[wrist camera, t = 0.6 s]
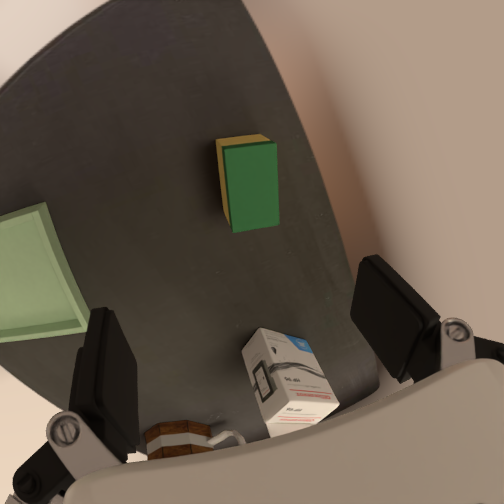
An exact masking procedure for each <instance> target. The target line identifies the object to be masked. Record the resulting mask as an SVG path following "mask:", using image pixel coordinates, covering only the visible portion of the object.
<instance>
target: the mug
mask: <svg viewBox="0 0 504 504" xmlns="http://www.w3.org/2000/svg"><path fill="white" fill-rule="evenodd" d="M144 435H145V440H146V444H147V454H148V460H154V459H163V458H171V457H178V456H185V455H191V454H197V453H203V452H209V451H214V448H213V445H215V444H217V443H219V442H221V441H223V440H224V439H226V438H227V437H228V436H235V437H236V439H237V440H238V443H239V445H244V444H246V443H245V440H244V438H243V437H242V436H241V435H240V434H239V433H238V432H237V431H236V430H224V431H222V432H221V433H219V434H218V435H216V436H214V437H212V433H211V429H210V426H208V425H204V424H200V423H196V422H192V421H188V420H184V421H175V422H166V423H158V424H156V425H155V426H154V427H152V428H151V429H149V430H148V431H146V432H145V433H144Z"/></svg>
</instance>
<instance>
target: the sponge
mask: <svg viewBox="0 0 504 504" xmlns="http://www.w3.org/2000/svg"><path fill="white" fill-rule="evenodd" d="M216 148H217V157H218V166H219V175H220V184H221V193H222V202H223V210H224V213H225V216H226V218H227V220H228V223H229V225H230V227H231V230H232V232H233V233H236V232H242V231H247V230H253V229H258V228H264V227H270V226H275V225H279V198H278V170H277V146H276V143H275V142H273V141H271V140H269V139H267V138H266V137H264V136H262V135H260V134H256V135H247V136H238V137H230V138H223V139H216Z"/></svg>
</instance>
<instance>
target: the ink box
mask: <svg viewBox="0 0 504 504" xmlns="http://www.w3.org/2000/svg"><path fill="white" fill-rule="evenodd" d="M242 355H243V358H244V362H245V365H246V368H247V371H248V374H249V377H250V381H251V383H252V387H253V390H254V393H255V396H256V399H257V402H258V405H259V408H260V411H261V414H262V417H263V420H264V423H266V425H267V428H268V432H269V434H270V437H271V438H272V437H276V436H279V435H283V434H286V433H290V432H293V431H297V430H300V429H303V428H306V427H309V426H312V425H315V424H316V423H318V422H319V421H320V420H322V419H323V418H324V417H325V416H327V415H328V414H329V413H331V412H332V411H333V410H334V409H335V408H337V407H338V406H339V402H338V401H337V399H336V397H335V395H334V393H333V391H332V389H331V387H330V385H329V383H328V382H327V380H326V378H325V376H324V374H323V372H322V370H321V368H320V366H319V364H318V362H317V360H316V358H315V356H314V354H313V353H312V351H311V349H310V347H309V345H308V343H307V341H306V340H304V339H300V338H297V337H293V336H289V335H286V334H282V333H279V332H275V331H272V330H268V329H265V328H258V330H257V331H256V332H255V334H254V335H253V336H252V338H251V339H250V340H249V342H248V343H247V344H246V345H245V347H244V348H243V349H242Z"/></svg>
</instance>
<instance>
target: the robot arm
mask: <svg viewBox="0 0 504 504" xmlns="http://www.w3.org/2000/svg"><path fill="white" fill-rule="evenodd" d="M350 316H351V319H352V321H353V322H354V324H355V325H356V326H357V328H358V329H359V331H360V332H361V333H362V335H363V336H364V338H365V339H366V340H367V342H368V343H369V345H370V346H371V348H372V349H373V350H374V352H375V353H376V355H377V356H378V358H379V359H380V360H381V362H382V363H383V365H384V366H385V368H386V369H387V370H388V372H389V373H390V375H391V376H392V377H393V378H396V379H397V380H398V382H399V383H400V384H401V383H403V382H405V381H407V380H409V379H410V378H412V379H413V380H414V384H413V385H411V386H409V387H406V388H404V389H402V390H400V391H398V392H396V393H394V394H392V395H389V396H387V397H385V398H383V399H381V400H378V401H376V402H374V403H371V404H369V405H366V406H364V407H361V408H359V409H357V410H354V411H351V412H349V413H346V414H344V415H341V416H338V417H336V418H333V419H330V420H327V421H324V422H321V423H318V424H315V425H312V426H309V427H306V428H303V429H300V430H297V431H293V432H290V433H286V434H283V435H279V436H276V437H272V438H268V439H264V440H261V441H257V442H252V443H248V444H244V445H239V446H235V447H230V448H225V449H220V450H215V451H209V452H203V453H197V454H191V455H185V456H178V457H171V458H163V459H154V460H147V461H139V462H131V463H127V462H126V461H127V460H128V456H127V454H129V453H136V445H139V444H140V437H139V420H138V391H137V362H136V359H135V357H134V355H133V353H132V351H131V349H130V346H129V344H128V342H127V340H126V338H125V336H124V334H123V331H122V329H121V327H120V325H119V322H118V320H117V318H116V315H115V313H114V311H113V310H109V309H108V308H107V307H102V308H95V309H92V310H91V312H90V317H89V321H88V326H87V331H86V336H85V341H84V346H83V347H80V348H79V349H78V352H77V357H76V362H75V368H74V374H73V380H72V387H71V394H70V402H69V410H68V411H62V412H59V413H57V414H55V415H54V416H53V417H52V418H51V419H50V421H49V423H48V424H47V428H46V436H47V439H48V441H47V442H46V443H45V444H44V445H43V446H42V447H41V448H40V449H38V451H36V452H35V453H34V454H33V455H32V456H31V457H30V458H29V459H28V460H27V461H26V462H25V463H24V464H23V465H21V467H19V468H18V469H17V471H16V472H15V474H14V477H13V489H14V491H15V492H14V495H9V496H8V499H7V500H6V502H5V504H504V344H503V343H499V342H495V341H491V340H487V339H483V338H479V337H476V336H473V331H472V329H471V327H470V326H469V325H468V324H467V323H466V322H465V321H463V320H461V319H458V318H447V319H445V320H444V321H443V322H442V323H441V322H440V321H439V319H440V316H439V315H438V313H437V312H435V310H434V309H433V308H432V307H431V306H430V305H429V304H428V303H427V302H426V301H425V300H424V299H423V298H422V297H421V296H420V295H419V294H418V293H417V292H416V291H415V290H414V289H413V288H412V287H411V286H410V285H409V284H408V283H407V282H406V281H405V280H404V279H403V278H402V277H401V276H400V275H399V274H398V273H397V272H396V271H395V270H394V269H393V268H392V267H391V266H390V265H389V264H388V263H387V262H385V261H384V260H383V259H382V258H381V257H380V256H379V255H371V256H367V257H364V258H363V259H362V261H361V262H360V264H359V268H358V275H357V280H356V285H355V291H354V296H353V301H352V306H351V311H350Z"/></svg>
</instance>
